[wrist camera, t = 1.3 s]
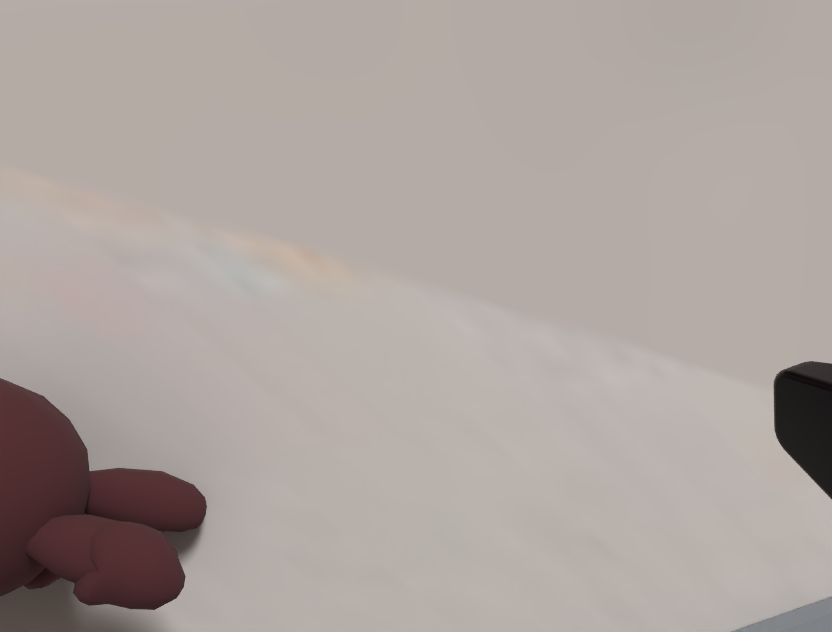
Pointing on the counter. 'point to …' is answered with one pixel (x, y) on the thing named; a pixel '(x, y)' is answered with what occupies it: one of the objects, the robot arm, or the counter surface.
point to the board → (798, 620)
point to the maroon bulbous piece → (93, 495)
